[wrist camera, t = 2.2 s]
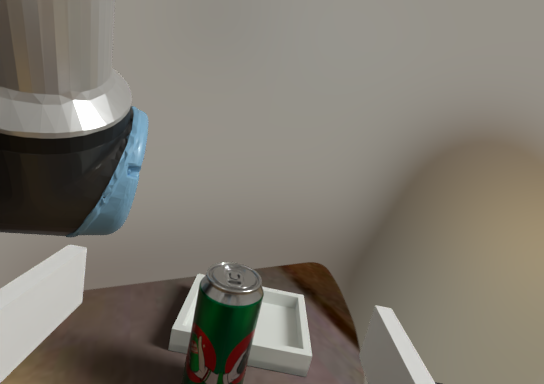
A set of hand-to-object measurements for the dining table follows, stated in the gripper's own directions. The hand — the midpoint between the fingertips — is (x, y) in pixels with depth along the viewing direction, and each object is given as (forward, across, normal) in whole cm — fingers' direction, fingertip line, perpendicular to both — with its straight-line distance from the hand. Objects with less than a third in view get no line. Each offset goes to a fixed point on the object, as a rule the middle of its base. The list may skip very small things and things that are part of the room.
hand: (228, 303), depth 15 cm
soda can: (+10, 0, -16) cm, 19 cm away
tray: (+20, +2, -16) cm, 26 cm away
